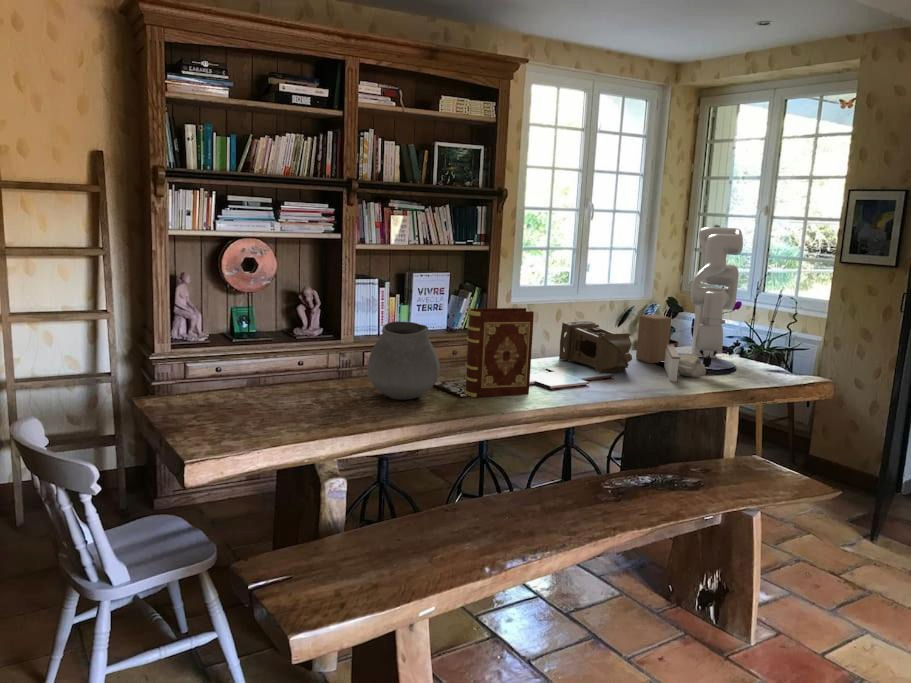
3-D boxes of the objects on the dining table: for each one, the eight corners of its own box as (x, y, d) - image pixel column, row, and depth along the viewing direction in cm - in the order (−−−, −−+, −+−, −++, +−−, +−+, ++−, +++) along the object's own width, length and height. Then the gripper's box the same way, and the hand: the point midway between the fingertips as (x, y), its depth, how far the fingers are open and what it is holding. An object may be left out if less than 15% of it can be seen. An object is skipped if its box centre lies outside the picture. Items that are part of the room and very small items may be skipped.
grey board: (663, 366, 316) (665, 343, 314) (670, 366, 315) (673, 344, 313) (669, 380, 290) (671, 356, 288) (677, 381, 289) (679, 357, 287)
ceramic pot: (357, 403, 243) (358, 328, 238) (378, 385, 266) (379, 316, 261) (430, 410, 238) (432, 334, 233) (444, 391, 262) (447, 321, 257)
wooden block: (634, 359, 327) (638, 314, 323) (652, 357, 331) (657, 313, 327) (649, 364, 318) (653, 318, 314) (667, 362, 322) (672, 317, 318)
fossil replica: (705, 380, 293) (703, 377, 303) (709, 360, 292) (706, 357, 302) (673, 375, 296) (672, 372, 305) (677, 355, 295) (676, 352, 304)
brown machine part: (641, 382, 297) (651, 337, 295) (609, 380, 288) (618, 334, 286) (586, 361, 327) (594, 320, 324) (554, 359, 318) (563, 317, 315)
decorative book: (468, 397, 255) (472, 311, 249) (461, 391, 262) (465, 308, 256) (529, 395, 261) (534, 311, 255) (521, 389, 268) (525, 307, 263)
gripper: (729, 321, 298) (724, 366, 302) (690, 319, 300) (686, 363, 304) (732, 324, 291) (727, 370, 294) (693, 322, 293) (688, 367, 297)
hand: (706, 366), depth 299 cm, fingers closed
